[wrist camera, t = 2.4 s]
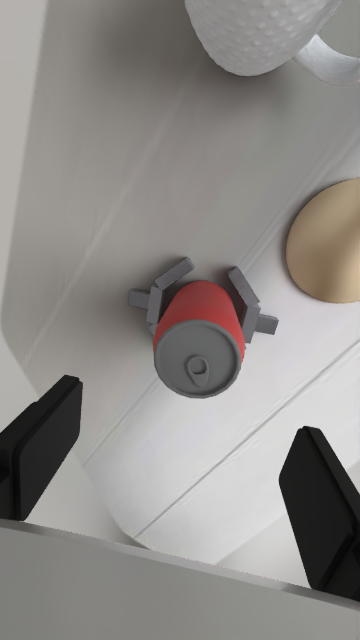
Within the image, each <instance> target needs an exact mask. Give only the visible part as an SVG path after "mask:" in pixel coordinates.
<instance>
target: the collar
mask: <svg viewBox="0 0 360 640" xmlns="http://www.w3.org/2000/svg"><path fill="white" fill-rule="evenodd" d="M193 269H194V265H193V264H192V262H191V261H190V259H189V258H188V257H187V258H186V259H184V260H183V261H181V262H180V263H178V264H177V265H176V266H174V267H173V268H171V269H170V270H168V271H167V272H166V273H164V274H163V275H161V276H160V277H159V278H157V279H156V280H155V283H154V284H153V285H152V286H151V290H150V292H147V291H142V290H137V289H131V290H130V292H129V301H128V305H130V306H135V307H140V308H145V309H148V311H147V318H146V322H148V323H151V324H150V325H149V327H148V329H149V331H150V332H151V333H152V335H153V336H154V335H155V331H156V327H157V326H158V324H159V322H160V320H161V319H162V318H161V313H162V307H163V301H164V295H165V289H166V288H167V287H168V286H169V285H171V284H172V283H174V282H175V281H177V280H178V279H180V278H181V277H183V276H184V275H186V274H187V273H188V272H190V271H191V270H193ZM227 275H228V277H229V278H230V280H231V281H232V283H233V285H234V286H235V288H236V289H237V291H238V292H239V294H240V296H241V297H242V299H243V300H244V302H245V305H244V308H243V312H242V316H241V319H240V323H239V324H240V327H241V330H242V333H243V336H244V340H245V343H249V344H250V343H251V339H252V336H253V333H254V331H257V332H262V333H267V334H272V335H274V333H275V330H276V327H277V324H278V321H279V320H278V319H277V318H276V317H271V316H266V315H261V314H259V312H260V309H261V308H260V307H259V305H258V304H257V303H259V302H260V301H259V300H258V298H257V297H256V295H255V293H254V292H253V290H252V289H251V287H250V285H249V284H248V282H247V280H246V279H245V277H244V276H243V274H242V272H241V271H240V269H239V268H238V267H235V268H233V269H232V270H230V271H229V272H227ZM245 349H246V346H245Z"/></svg>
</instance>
